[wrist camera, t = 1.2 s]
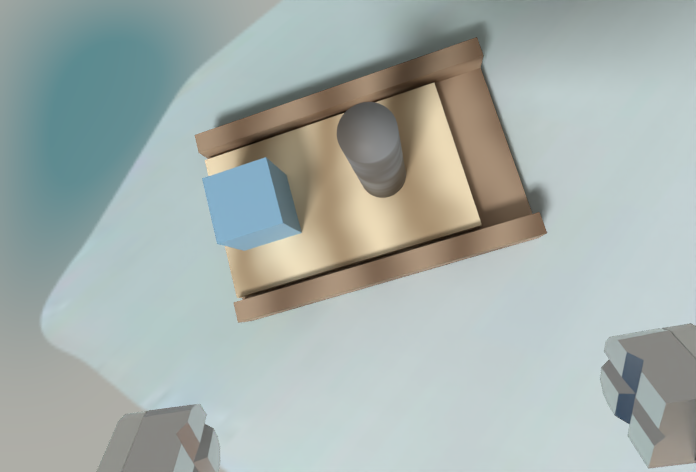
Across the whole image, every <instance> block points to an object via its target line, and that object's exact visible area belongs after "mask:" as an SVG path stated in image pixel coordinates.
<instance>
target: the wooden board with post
mask: <svg viewBox="0 0 696 472" xmlns="http://www.w3.org/2000/svg"><path fill="white" fill-rule="evenodd" d="M265 157H266V158H268V159H269V160H270V161H271V162H272V163H273V164H274V165H276V166H277V167H278V168H279V169H280V170H281V171H282V172H284V173H285V174H286V175H287V179H288V183H289V186H290V190H291V194H292V198H293V201H294V205H295V209H296V213H297V217H298V220H299V224H300V228H301V232H302V233H300V234H297V235H294V236H290V237H287V238H284V239H281V240H278V241H274V242H271V243H268V244H265V245H261V246H258V247H255V248H252V249H249V250H245V251H243V250H239V249H235V248H231V247H227V246H225V249H226V253H227V257H228V261H229V266H230V270H231V274H232V279H233V283H234V287H235V291H236V296H237V298H243V297H246V296H249V295H253V294H256V293H259V292H263V291H266V290H270V289H273V288H276V287H280V286H283V285H286V284H290V283H293V282H297V281H300V280H303V279H307V278H310V277H313V276H317V275H320V274H323V273H327V272H330V271H334V270H337V269H340V268H344V267H347V266H350V265H354V264H357V263H361V262H364V261H367V260H371V259H374V258H377V257H381V256H384V255H388V254H391V253H394V252H398V251H401V250H404V249H408V248H411V247H414V246H418V245H421V244H425V243H428V242H431V241H435V240H438V239H441V238H445V237H448V236H452V235H455V234H458V233H462V232H465V231H468V230H472V229H475V228H478V227H481V225H482V224H481V221H480V218H479V215H478V212H477V209H476V206H475V203H474V200H473V197H472V194H471V191H470V188H469V185H468V182H467V179H466V176H465V173H464V170H463V167H462V164H461V161H460V158H459V155H458V152H457V149H456V146H455V143H454V140H453V137H452V134H451V131H450V128H449V125H448V122H447V119H446V116H445V113H444V110H443V107H442V104H441V101H440V98H439V95H438V92H437V89H436V86H435V83H431V84H428V85H425V86H422V87H419V88H416V89H413V90H411V91H408V92H405V93H402V94H399V95H396V96H393V97H390V98H387V99H384V100H381V101H378V102H363V103H359V104H356V105H354V106H352V107H351V108H349V109H348V110H347V111H346V112H345V113H343V114H340V115H337V116H334V117H331V118H328V119H325V120H322V121H319V122H316V123H313V124H310V125H307V126H304V127H301V128H298V129H296V130H293V131H290V132H287V133H284V134H281V135H278V136H275V137H272V138H269V139H266V140H263V141H260V142H257V143H254V144H251V145H248V146H245V147H242V148H240V149H237V150H234V151H231V152H228V153H225V154H222V155H219V156H216V157H213V158H210V159H207V160H205V163H206V167H207V172H208V176H211V175H214V174H217V173H220V172H223V171H226V170H229V169H232V168H235V167H238V166H241V165H244V164H247V163H250V162H253V161H256V160H259V159H262V158H265Z"/></svg>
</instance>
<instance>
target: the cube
mask: <svg viewBox="0 0 696 472" xmlns="http://www.w3.org/2000/svg"><path fill="white" fill-rule="evenodd" d="M202 180H203V184H204V188H205V193H206V197H207V201H208V206H209V210H210V214H211V219H212V223H213V227H214V232H215V236H216V240H217V244H220V245H224V246H227V247H231V248H235V249H239V250H243V251H245V250H249V249H252V248H255V247H258V246H261V245H265V244H268V243H271V242H274V241H278V240H281V239H284V238H287V237H290V236H294V235H297V234H300V233H302V232H301V228H300V224H299V220H298V217H297V213H296V209H295V205H294V201H293V198H292V194H291V190H290V186H289V183H288V179H287V175H286V174H285V173H284V172H282V171H281V170H280V169H279V168H278V167H277V166H276V165H274V164H273V163H272V162H271V161H270V160H269V159H268V158H266V157H265V158H262V159H259V160H256V161H253V162H250V163H247V164H244V165H241V166H238V167H235V168H232V169H229V170H226V171H223V172H220V173H217V174H214V175H211V176H208V177H205V178H202Z"/></svg>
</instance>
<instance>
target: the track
mask: <svg viewBox="0 0 696 472" xmlns="http://www.w3.org/2000/svg"><path fill="white" fill-rule="evenodd" d="M482 59H483V53H482V50H481V47H480V44H479V42H478V39H477V37H476V38H473V39H470V40H467V41H464V42H461V43H459V44H456V45H453V46H450V47H447V48H444V49H441V50H438V51H436V52H433V53H430V54H427V55H424V56H421V57H418V58H415V59H412V60H410V61H407V62H404V63H401V64H398V65H395V66H392V67H389V68H387V69H384V70H381V71H378V72H375V73H372V74H369V75H366V76H364V77H361V78H358V79H355V80H352V81H349V82H346V83H343V84H340V85H338V86H335V87H332V88H329V89H326V90H323V91H320V92H317V93H315V94H312V95H309V96H306V97H303V98H300V99H297V100H294V101H292V102H289V103H286V104H283V105H280V106H277V107H274V108H271V109H269V110H266V111H263V112H260V113H257V114H254V115H251V116H248V117H245V118H243V119H240V120H237V121H234V122H231V123H228V124H225V125H222V126H220V127H217V128H214V129H211V130H208V131H205V132H202V133H199V134H197V135H195V138H196V143H197V147H198V151H199V153H200V154H202V155H203V156H205V157H206V158H208V159H210V158H213V157H216V156H219V155H222V154H225V153H228V152H231V151H234V150H237V149H240V148H242V147H245V146H248V145H251V144H254V143H257V142H260V141H263V140H266V139H269V138H272V137H275V136H278V135H281V134H284V133H287V132H290V131H293V130H296V129H298V128H301V127H304V126H307V125H310V124H313V123H316V122H319V121H322V120H325V119H328V118H331V117H334V116H337V115H340V114H343V113H345V112H346V111H347V110H348V109H349V108H351V107H352V106H354V105H356V104H359V103H363V102H378V101H381V100H384V99H387V98H390V97H393V96H396V95H399V94H402V93H405V92H408V91H411V90H413V89H416V88H419V87H422V86H425V85H428V84H431V83H435V86H436V89H437V92H438V95H439V98H440V101H441V104H442V107H443V110H444V113H445V116H446V119H447V122H448V125H449V128H450V131H451V134H452V137H453V140H454V143H455V146H456V149H457V152H458V155H459V158H460V161H461V164H462V167H463V170H464V173H465V176H466V179H467V182H468V185H469V188H470V191H471V194H472V197H473V200H474V203H475V206H476V209H477V212H478V215H479V218H480V221H481V224H482V225H481V227H478V228H475V229H472V230H468V231H465V232H462V233H458V234H455V235H452V236H448V237H445V238H441V239H438V240H435V241H431V242H428V243H425V244H421V245H418V246H414V247H411V248H408V249H404V250H401V251H398V252H394V253H391V254H388V255H384V256H381V257H377V258H374V259H371V260H367V261H364V262H361V263H357V264H354V265H350V266H347V267H344V268H340V269H337V270H334V271H330V272H327V273H323V274H320V275H317V276H313V277H310V278H307V279H303V280H300V281H297V282H293V283H290V284H286V285H283V286H280V287H276V288H273V289H270V290H266V291H263V292H259V293H256V294H253V295H249V296H246V297H243V298H242V299H243V300H241V301H237V302H234V307H235V311H236V315H237V320H238V323H239V322H247V321H253V320H257V319H260V318H263V317H267V316H270V315H274V314H277V313H281V312H284V311H288V310H291V309H295V308H298V307H301V306H305V305H308V304H312V303H315V302H319V301H322V300H326V299H329V298H333V297H336V296H339V295H343V294H346V293H350V292H353V291H357V290H360V289H364V288H367V287H371V286H374V285H377V284H381V283H384V282H388V281H391V280H395V279H398V278H402V277H405V276H409V275H412V274H415V273H419V272H422V271H426V270H429V269H433V268H436V267H440V266H443V265H447V264H450V263H453V262H457V261H460V260H464V259H467V258H471V257H474V256H478V255H481V254H485V253H488V252H491V251H495V250H498V249H502V248H505V247H509V246H512V245H516V244H519V243H523V242H526V241H529V240H533V239H536V238H539V237H541V236H543V235H544V234H546V233H547V231H546V229H545V226H544V223H543V220H542V217H541V215H540V212H538V213H535V214H532V211H531V208H530V205H529V203H528V200H527V197H526V194H525V191H524V189H523V186H522V183H521V180H520V177H519V175H518V172H517V169H516V166H515V163H514V160H513V158H512V155H511V152H510V149H509V146H508V144H507V141H506V138H505V135H504V132H503V130H502V127H501V124H500V121H499V118H498V115H497V113H496V110H495V107H494V104H493V101H492V99H491V96H490V93H489V90H488V87H487V84H486V82H485V79H484V76H483V73H482V70H481V64H482Z"/></svg>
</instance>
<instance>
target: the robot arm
mask: <svg viewBox="0 0 696 472" xmlns="http://www.w3.org/2000/svg"><path fill="white" fill-rule="evenodd" d="M604 352H605V354H606V355H607V357H608V358H609V360H608V361H607V362H606V363H605V364H604V365H603V366H602V367H601V376H600V381H601V386H602V391H603V394H604V397H605V399H606V401H607V403H608V405H609V407H610V409H611V410H612V412H613V413H614V415H615V416H616V417H618V418H620V419H621V420H623V421H625V422H626V423H628V424H629V430H628V437H629V439H630V441H631V442H632V444H633V445H634V447H635V448H636V450H637V452H638V453H639V455H640V456H641V458H642V459H643V461H644V462H645V464H646V466H647V467H648V468H656V467H664V466H673V465H681V464H690V463H696V326H695V325H693V324H684V325H678V326H672V327H666V328H662V329H660V328H658V329H652V330H647V331H641V332H635V333H629V334H623V335H618V336H612V337H609V338H608V339H607V341H606V342H605V348H604ZM205 419H206V413H205V411H204V409H203V408H202V406H201V404H194V405H187V406H179V407H172V408H164V409H157V410H149V411H144V412H137V413H130V414H125V415H124V416H123V417H122V418H121V419H120V420H119V421H118V423H117V425H116V428H115V430H114V432H113V435H112V437H111V440H110V442H109V444H108V446H107V449H106V451H105V453H104V455H103V458H102V460H101V462H100V465H99V467H98V469H97V472H219V466H220V445H219V440H218V436H217V434H216V432H215V430H214V429H213V428H212V427H210V426H208V425H206V424H204V423H205Z"/></svg>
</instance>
